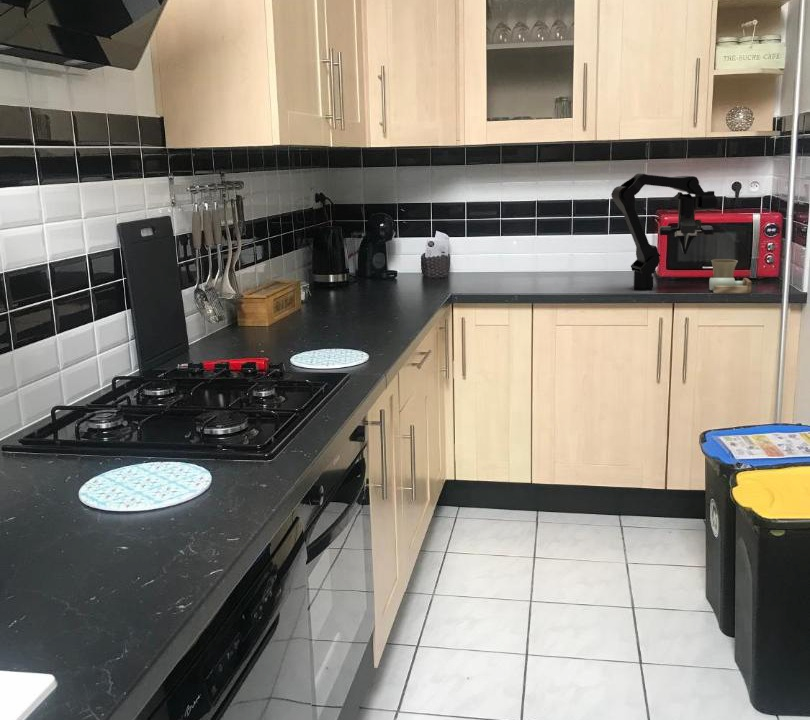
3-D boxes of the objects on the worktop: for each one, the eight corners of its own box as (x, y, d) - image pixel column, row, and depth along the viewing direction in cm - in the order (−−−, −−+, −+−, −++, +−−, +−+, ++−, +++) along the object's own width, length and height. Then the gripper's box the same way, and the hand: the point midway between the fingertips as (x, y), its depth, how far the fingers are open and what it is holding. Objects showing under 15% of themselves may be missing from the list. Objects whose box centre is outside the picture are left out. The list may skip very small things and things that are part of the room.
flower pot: (732, 281, 318) (733, 258, 316) (739, 285, 309) (741, 262, 306) (706, 281, 319) (708, 259, 316) (713, 285, 310) (714, 262, 307)
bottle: (711, 277, 297) (745, 277, 295) (709, 277, 302) (743, 277, 299) (710, 290, 298) (745, 290, 295) (708, 290, 302) (742, 290, 300)
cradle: (714, 293, 296) (714, 281, 295) (710, 288, 304) (711, 277, 303) (750, 293, 293) (751, 281, 292) (746, 288, 301) (746, 277, 300)
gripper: (662, 213, 298) (660, 257, 302) (717, 212, 295) (714, 256, 298) (659, 210, 309) (657, 253, 313) (712, 210, 305) (710, 252, 309)
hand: (684, 253), depth 308 cm, fingers closed
